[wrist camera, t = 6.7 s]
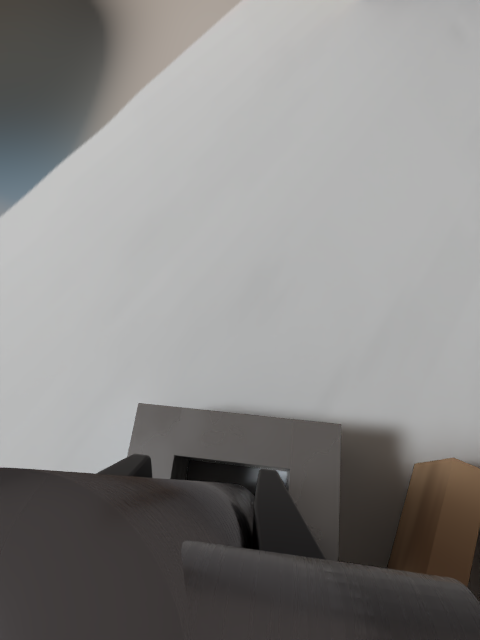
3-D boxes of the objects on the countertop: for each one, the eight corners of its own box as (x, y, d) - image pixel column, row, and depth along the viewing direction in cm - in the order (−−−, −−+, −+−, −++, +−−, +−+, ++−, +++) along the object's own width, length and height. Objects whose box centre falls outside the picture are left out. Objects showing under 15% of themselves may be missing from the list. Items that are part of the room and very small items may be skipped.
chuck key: (307, 492, 16) (516, 532, 2) (303, 567, 15) (629, 1414, 1) (162, 474, 17) (-350, 419, 3) (150, 544, 16) (-696, 950, 2)
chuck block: (323, 652, 15) (335, 690, 12) (119, 618, 16) (87, 646, 13) (330, 433, 18) (341, 424, 15) (158, 415, 19) (138, 403, 16)
